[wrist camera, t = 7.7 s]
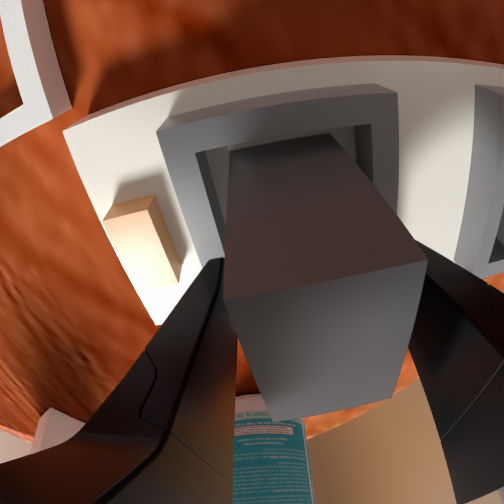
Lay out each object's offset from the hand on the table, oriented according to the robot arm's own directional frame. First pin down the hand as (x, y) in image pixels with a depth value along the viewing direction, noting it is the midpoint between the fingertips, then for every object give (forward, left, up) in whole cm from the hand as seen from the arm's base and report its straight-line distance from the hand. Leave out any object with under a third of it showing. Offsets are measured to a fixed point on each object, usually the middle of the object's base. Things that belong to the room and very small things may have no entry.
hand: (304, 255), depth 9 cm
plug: (0, 0, -2) cm, 3 cm away
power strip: (+4, 0, -4) cm, 6 cm away
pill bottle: (-4, -19, -5) cm, 20 cm away
